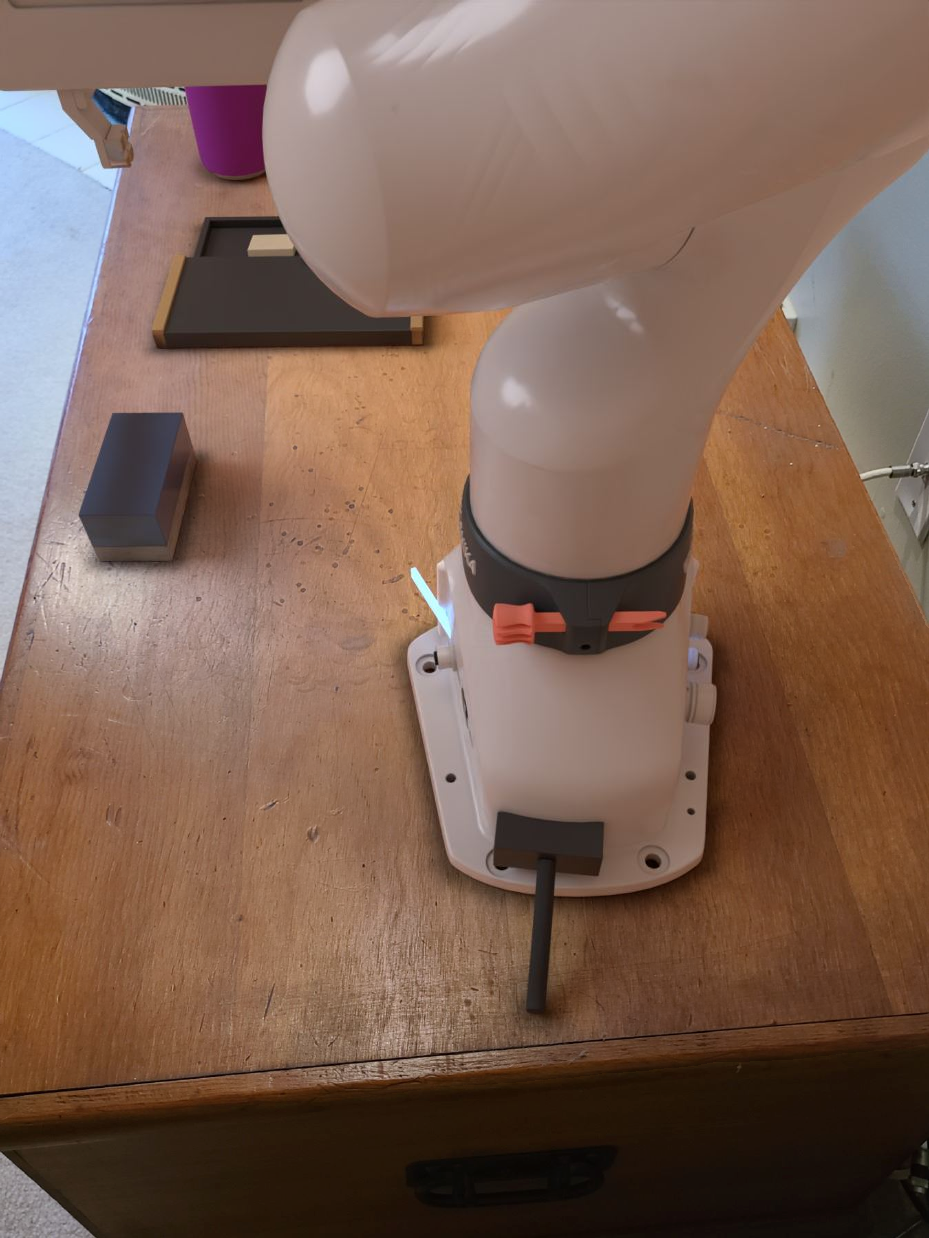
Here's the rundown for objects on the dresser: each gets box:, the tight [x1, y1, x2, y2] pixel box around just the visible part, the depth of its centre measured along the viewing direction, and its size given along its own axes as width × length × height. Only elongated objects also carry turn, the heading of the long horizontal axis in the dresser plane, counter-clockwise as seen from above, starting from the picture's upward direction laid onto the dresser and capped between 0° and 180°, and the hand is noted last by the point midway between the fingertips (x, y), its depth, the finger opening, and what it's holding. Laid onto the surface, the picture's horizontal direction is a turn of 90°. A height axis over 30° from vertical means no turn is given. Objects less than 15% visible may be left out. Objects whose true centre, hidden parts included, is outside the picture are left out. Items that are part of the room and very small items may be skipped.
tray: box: [193, 215, 300, 257], centre depth 90 cm, size 7×19×1 cm, turn 90°
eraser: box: [78, 412, 198, 562], centre depth 68 cm, size 5×10×4 cm, turn 0°
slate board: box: [151, 253, 425, 349], centre depth 84 cm, size 11×22×2 cm, turn 91°
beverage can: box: [183, 85, 267, 181], centre depth 95 cm, size 8×8×12 cm
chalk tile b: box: [248, 234, 296, 257], centre depth 88 cm, size 4×4×1 cm
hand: (202, 161), depth 56 cm, fingers open, 8 cm apart
